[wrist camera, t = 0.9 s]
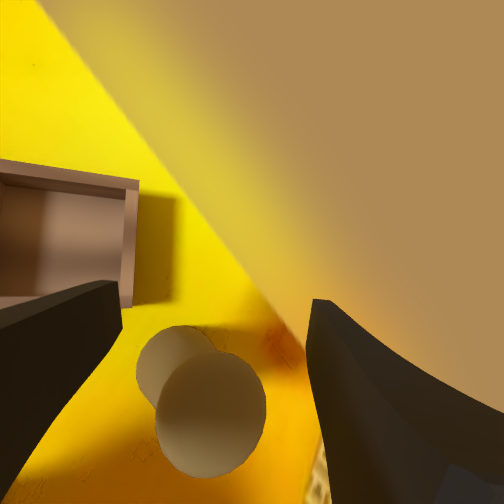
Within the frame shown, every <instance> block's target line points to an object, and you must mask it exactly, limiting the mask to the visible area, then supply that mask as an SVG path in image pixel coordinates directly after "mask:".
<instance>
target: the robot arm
mask: <svg viewBox="0 0 504 504" xmlns="http://www.w3.org/2000/svg"><path fill="white" fill-rule="evenodd" d="M122 329H123V326H122V316H121V307H120V297H119V287H118V281H112V280H97V281H92V282H89V283H85V284H81V285H78V286H75V287H71V288H68V289H65V290H62V291H59V292H56V293H53V294H49V295H46V296H43V297H40V298H37V299H33V300H30V301H27V302H23V303H20V304H16V305H13V306H10V307H6V308H3V309H0V503H1V501H2V500H3V498H4V496H5V495H6V493H7V491H8V490H9V488H10V487H11V485H12V483H13V482H14V480H15V479H16V477H17V476H18V474H19V472H20V471H21V469H22V468H23V466H24V465H25V463H26V461H27V460H28V458H29V457H30V455H31V454H32V452H33V451H34V449H35V448H36V446H37V445H38V443H39V442H40V440H41V439H42V437H43V436H44V434H45V433H46V431H47V430H48V428H49V427H50V425H51V424H52V422H53V421H54V420H55V418H56V417H57V416H58V414H59V413H60V412H61V410H62V409H63V408H64V406H65V405H66V404H67V403H68V402H69V400H70V399H71V398H72V397H73V395H74V394H75V393H76V392H77V391H78V389H79V388H80V387H81V386H82V384H83V383H84V382H85V381H86V379H87V378H88V377H89V376H90V375H91V373H92V372H93V371H94V370H95V368H96V367H97V366H98V365H99V363H100V362H101V361H102V360H103V358H104V357H105V356H106V355H107V353H108V352H109V350H110V349H111V347H112V346H113V344H114V343H115V341H116V339H117V337H118V336H119V334H120V332H121V331H122ZM306 358H307V368H308V374H309V379H310V384H311V388H312V393H313V397H314V401H315V406H316V410H317V415H318V419H319V423H320V428H321V432H322V437H323V442H324V447H325V453H326V461H327V468H328V476H329V483H330V491H331V499H332V504H504V413H502V412H500V411H497V410H495V409H493V408H491V407H489V406H487V405H485V404H483V403H481V402H479V401H477V400H475V399H473V398H471V397H469V396H467V395H465V394H464V393H462V392H460V391H458V390H456V389H454V388H453V387H451V386H449V385H447V384H445V383H443V382H442V381H440V380H438V379H436V378H435V377H433V376H431V375H429V374H428V373H426V372H424V371H423V370H421V369H420V368H418V367H417V366H415V365H413V364H412V363H410V362H409V361H407V360H406V359H404V358H402V357H401V356H400V355H398V354H396V353H395V352H394V351H392V350H391V349H390V348H388V347H387V346H386V345H384V344H383V343H382V342H380V341H379V340H378V339H376V338H375V337H374V336H372V335H371V334H370V333H369V332H367V331H366V330H365V329H364V328H362V327H361V326H360V325H359V324H358V323H356V322H355V321H354V320H353V319H352V318H351V317H350V316H348V315H347V314H346V313H345V312H344V311H343V310H341V309H340V308H339V307H338V306H337V305H336V304H334V303H333V302H332V301H330V300H321V299H313V302H312V308H311V315H310V321H309V328H308V334H307V340H306Z"/></svg>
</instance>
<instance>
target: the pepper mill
mask: <svg viewBox="0 0 504 504" xmlns="http://www.w3.org/2000/svg"><path fill="white" fill-rule="evenodd" d="M136 379H137V382H138V385H139V388H140V391H141V392H142V393H143V394H144V396H145V397H146V398H147V399H148V401H149V402H150V403H151V404H152V405H153V407H154V408H155V409H156V419H155V429H156V434H157V437H158V440H159V443H160V446H161V450H162V452H163V454H164V455H165V456H166V457H167V458H168V460H169V461H170V462H171V463H172V465H173V466H174V467H175V468H176V469H177V470H179V471H181V472H183V473H185V474H187V475H189V476H191V477H193V478H214V477H217V476H221V475H224V474H227V473H230V472H231V471H233V470H234V469H235V468H237V467H238V466H240V465H241V464H243V463H244V462H245V460H246V459H247V458H248V457H249V456H250V454H251V453H252V452H253V451H254V450H255V448H256V446H257V444H258V442H259V439H260V437H261V435H262V433H263V428H264V424H265V419H266V396H265V393H264V389H263V386H262V383H261V381H260V379H259V377H258V376H257V375H256V373H255V372H254V370H253V369H252V368H251V366H250V365H249V364H248V363H246V362H245V361H243V360H242V359H240V358H239V357H237V356H235V355H233V354H229V353H225V352H221V351H217V349H216V348H215V347H214V346H213V344H212V343H211V342H210V341H209V339H208V338H207V337H206V335H205V334H203V333H202V332H200V331H199V330H197V329H196V328H192V327H188V326H185V325H184V326H172V327H170V328H167V329H164V330H162V331H160V332H159V333H157V334H156V335H155V336H153V337H152V338H151V339H150V340H149V341H148V342H147V344H146V345H145V347H144V348H143V349H142V351H141V353H140V356H139V359H138V362H137V369H136Z"/></svg>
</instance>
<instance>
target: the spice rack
mask: <svg viewBox="0 0 504 504" xmlns="http://www.w3.org/2000/svg"><path fill="white" fill-rule="evenodd" d="M138 195H139V180H135V179H128V178H122V177H115V176H109V175H102V174H96V173H89V172H83V171H76V170H70V169H63V168H57V167H50V166H44V165H37V164H31V163H24V162H18V161H11V160H5V159H0V309H3V308H6V307H10V306H13V305H16V304H20V303H23V302H27V301H30V300H33V299H37V298H40V297H43V296H46V295H49V294H53V293H56V292H59V291H62V290H65V289H68V288H71V287H75V286H78V285H81V284H85V283H89V282H92V281H97V280H112V281H118V287H119V297H120V307H121V308H132V301H133V283H134V266H135V248H136V230H137V212H138Z"/></svg>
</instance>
